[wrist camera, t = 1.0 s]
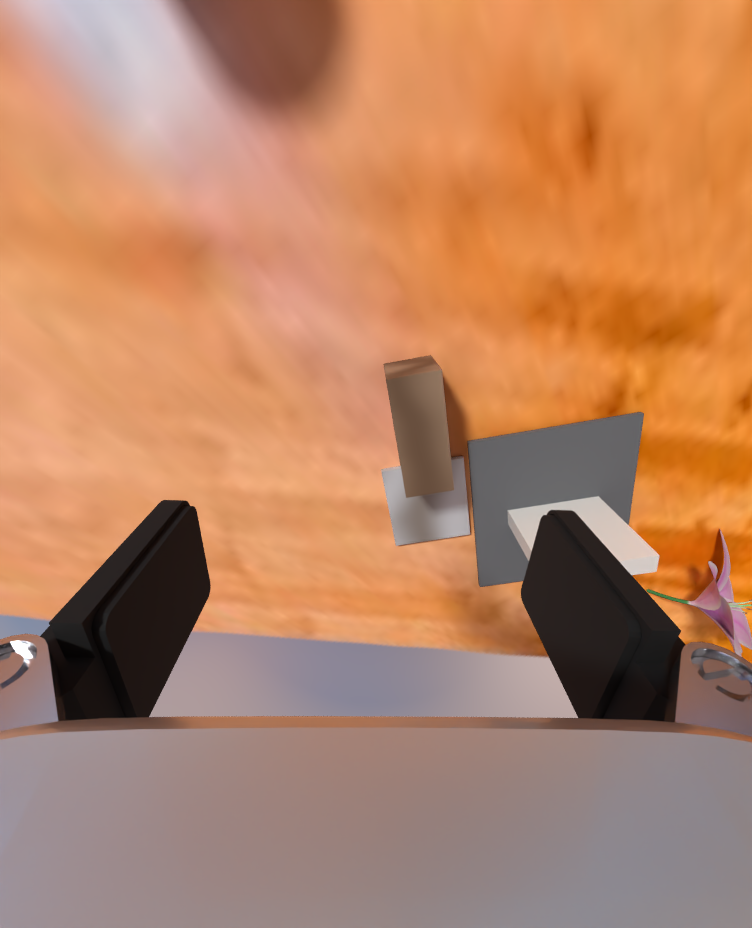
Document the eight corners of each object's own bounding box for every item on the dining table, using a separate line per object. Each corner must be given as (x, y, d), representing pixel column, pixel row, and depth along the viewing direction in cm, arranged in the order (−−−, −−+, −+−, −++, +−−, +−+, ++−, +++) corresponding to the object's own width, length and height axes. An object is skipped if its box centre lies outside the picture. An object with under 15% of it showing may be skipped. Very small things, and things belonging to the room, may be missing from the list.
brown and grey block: (453, 350, 29) (468, 364, 24) (469, 531, 36) (483, 567, 32) (361, 367, 29) (360, 384, 25) (395, 542, 37) (399, 579, 32)
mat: (640, 412, 31) (643, 413, 31) (620, 563, 38) (622, 566, 38) (467, 441, 32) (468, 442, 32) (478, 583, 39) (479, 587, 38)
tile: (598, 496, 34) (659, 555, 27) (596, 512, 35) (655, 574, 28) (507, 510, 34) (543, 572, 27) (508, 525, 35) (543, 589, 28)
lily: (696, 614, 43) (820, 660, 34) (623, 656, 39) (740, 722, 30) (687, 512, 41) (814, 532, 32) (609, 545, 37) (729, 579, 28)
